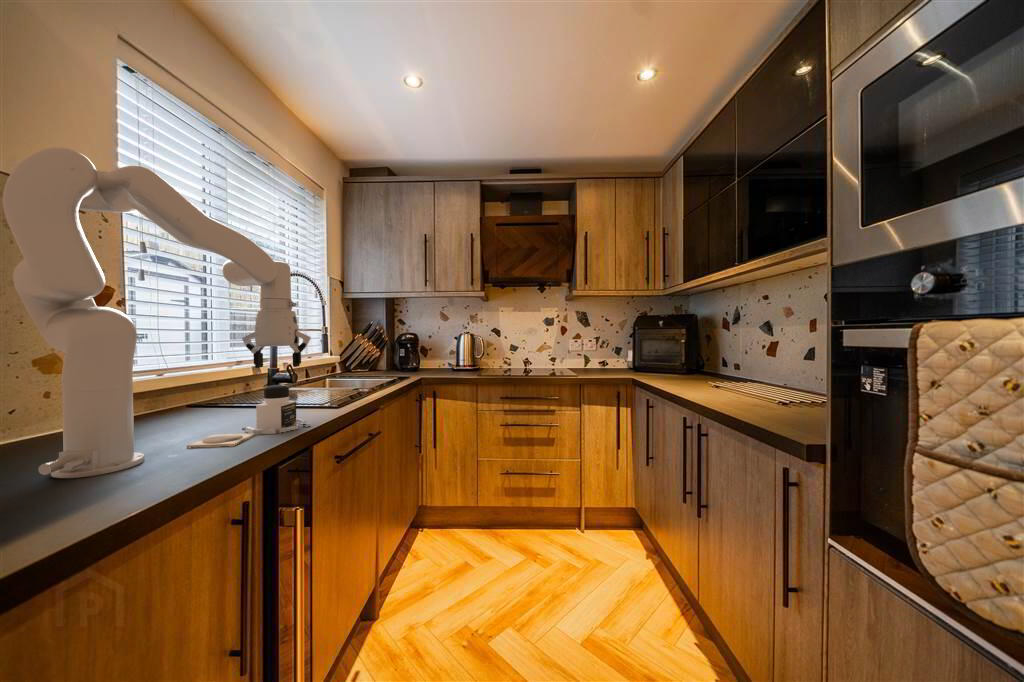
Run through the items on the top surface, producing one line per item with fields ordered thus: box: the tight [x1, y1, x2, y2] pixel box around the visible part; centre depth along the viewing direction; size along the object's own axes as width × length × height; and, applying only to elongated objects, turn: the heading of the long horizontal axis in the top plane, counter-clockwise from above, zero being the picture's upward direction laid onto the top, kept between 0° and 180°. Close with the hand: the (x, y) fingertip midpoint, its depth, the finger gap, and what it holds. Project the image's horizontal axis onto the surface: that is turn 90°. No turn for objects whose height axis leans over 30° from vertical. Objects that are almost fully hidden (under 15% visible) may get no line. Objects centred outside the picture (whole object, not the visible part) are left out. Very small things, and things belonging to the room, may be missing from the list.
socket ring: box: [241, 417, 311, 436], centre depth 109 cm, size 14×17×1 cm
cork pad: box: [186, 432, 256, 449], centre depth 96 cm, size 10×10×1 cm
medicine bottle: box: [255, 384, 297, 432], centre depth 109 cm, size 7×7×12 cm
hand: (277, 366), depth 110 cm, fingers open, 9 cm apart
